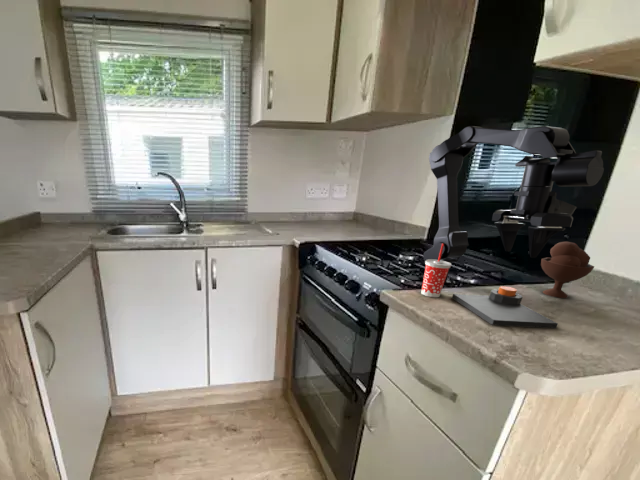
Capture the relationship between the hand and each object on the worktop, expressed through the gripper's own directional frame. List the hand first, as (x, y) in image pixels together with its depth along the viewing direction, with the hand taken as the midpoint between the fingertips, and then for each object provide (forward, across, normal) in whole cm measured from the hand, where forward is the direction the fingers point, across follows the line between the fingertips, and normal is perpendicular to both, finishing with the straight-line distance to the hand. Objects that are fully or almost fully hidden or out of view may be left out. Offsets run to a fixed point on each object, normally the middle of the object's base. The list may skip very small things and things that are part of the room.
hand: (519, 254), depth 86 cm
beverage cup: (+12, +6, +17) cm, 22 cm away
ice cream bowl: (+13, +13, -21) cm, 28 cm away
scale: (+14, -4, +4) cm, 15 cm away
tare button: (+11, +1, 0) cm, 11 cm away
